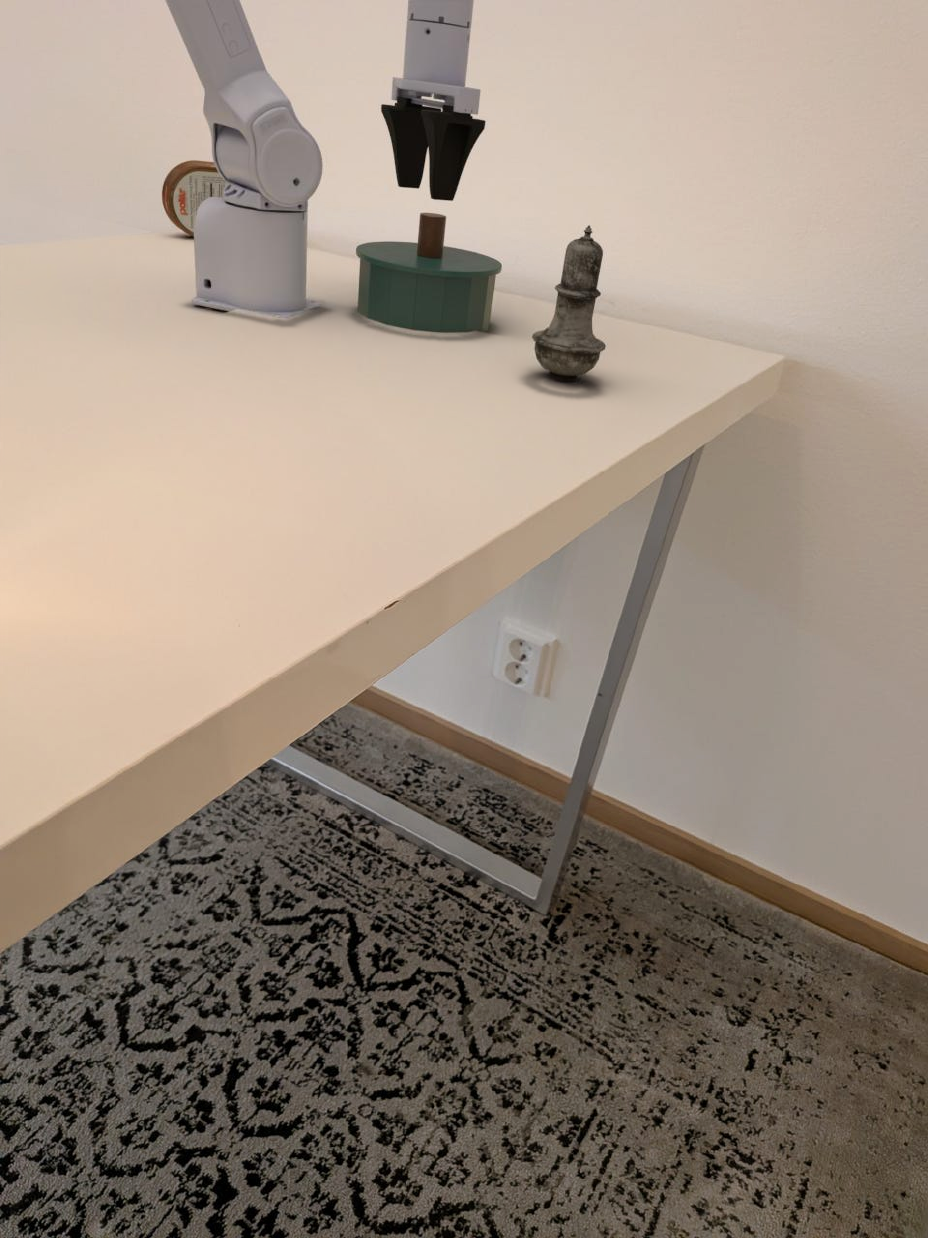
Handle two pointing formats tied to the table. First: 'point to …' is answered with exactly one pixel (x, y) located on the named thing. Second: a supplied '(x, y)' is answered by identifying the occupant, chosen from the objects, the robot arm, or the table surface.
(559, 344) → the salt shaker
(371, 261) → the lid
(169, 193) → the tin
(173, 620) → the table surface
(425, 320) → the canister
